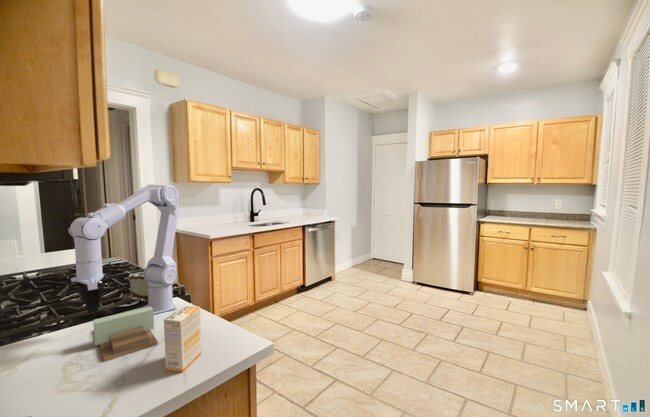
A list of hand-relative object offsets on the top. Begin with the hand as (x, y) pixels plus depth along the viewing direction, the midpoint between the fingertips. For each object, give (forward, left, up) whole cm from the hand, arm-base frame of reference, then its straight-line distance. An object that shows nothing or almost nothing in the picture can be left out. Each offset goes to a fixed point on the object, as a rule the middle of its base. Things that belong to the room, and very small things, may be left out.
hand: (91, 307), depth 84 cm
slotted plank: (+5, +7, -9) cm, 13 cm away
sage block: (+5, +7, -8) cm, 12 cm away
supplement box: (+28, +16, -10) cm, 34 cm away
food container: (-23, +19, -10) cm, 31 cm away
